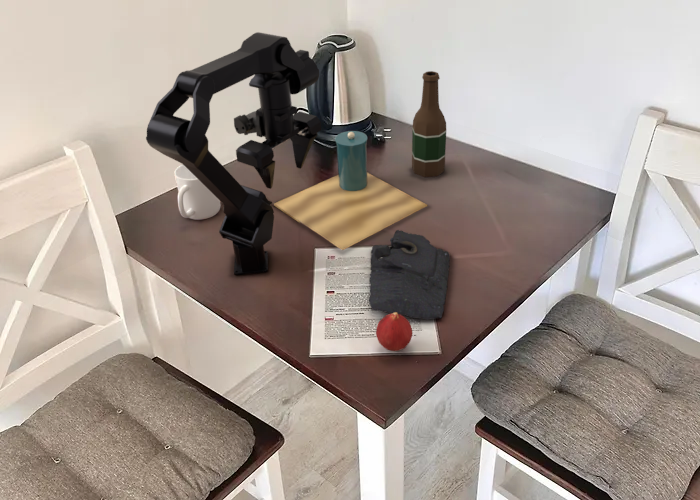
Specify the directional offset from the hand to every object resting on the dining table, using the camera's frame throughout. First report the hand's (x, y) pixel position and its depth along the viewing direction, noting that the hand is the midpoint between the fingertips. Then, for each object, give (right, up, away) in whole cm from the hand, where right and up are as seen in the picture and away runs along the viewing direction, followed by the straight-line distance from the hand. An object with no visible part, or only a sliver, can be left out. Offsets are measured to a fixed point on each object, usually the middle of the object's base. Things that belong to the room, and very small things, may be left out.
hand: (284, 177), depth 130 cm
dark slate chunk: (+23, -20, -7) cm, 32 cm away
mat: (+13, -5, +15) cm, 20 cm away
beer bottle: (+31, +4, +26) cm, 41 cm away
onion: (+20, -31, -21) cm, 42 cm away
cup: (-20, -7, +15) cm, 26 cm away
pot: (+14, +1, +21) cm, 25 cm away
